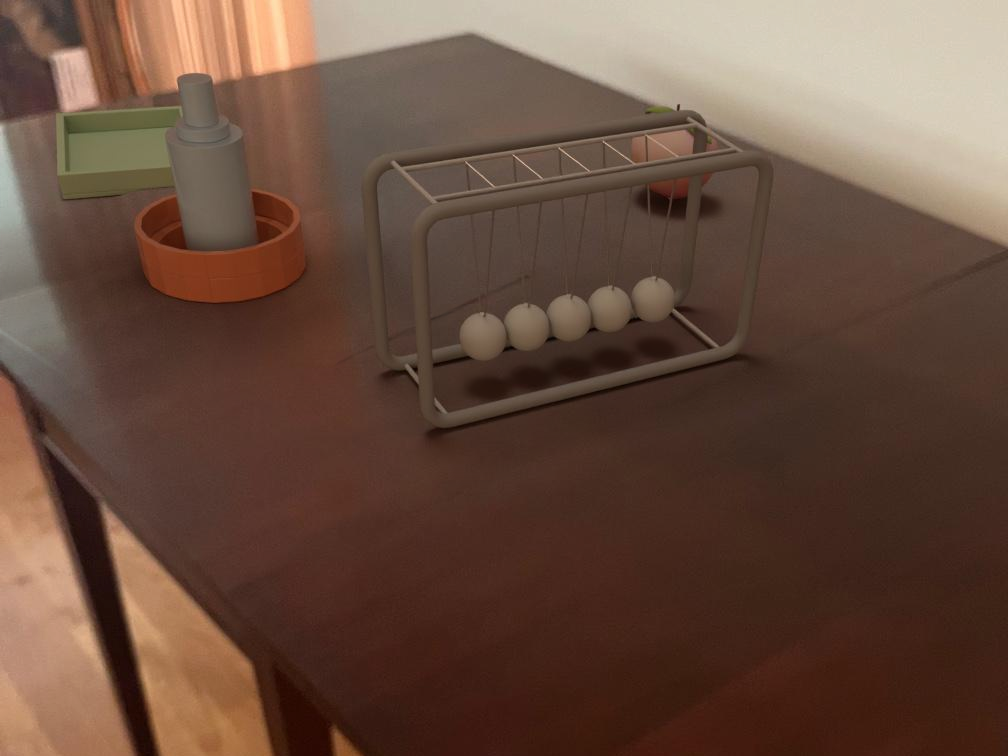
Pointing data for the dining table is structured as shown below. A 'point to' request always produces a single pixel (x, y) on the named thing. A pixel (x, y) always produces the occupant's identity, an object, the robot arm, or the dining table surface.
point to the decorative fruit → (669, 154)
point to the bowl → (222, 254)
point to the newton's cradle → (567, 312)
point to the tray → (113, 151)
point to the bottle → (210, 172)
